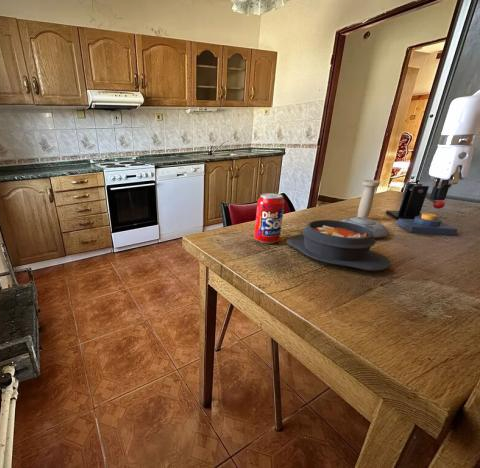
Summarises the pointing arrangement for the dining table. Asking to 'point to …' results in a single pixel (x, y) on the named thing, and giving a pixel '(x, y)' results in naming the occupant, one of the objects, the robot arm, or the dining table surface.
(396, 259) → the dining table surface
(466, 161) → the robot arm
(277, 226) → the soda can
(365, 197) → the handle
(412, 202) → the bracket
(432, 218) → the button
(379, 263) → the casserole
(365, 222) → the flying saucer
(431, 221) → the button box
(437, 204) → the lever
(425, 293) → the dining table surface
